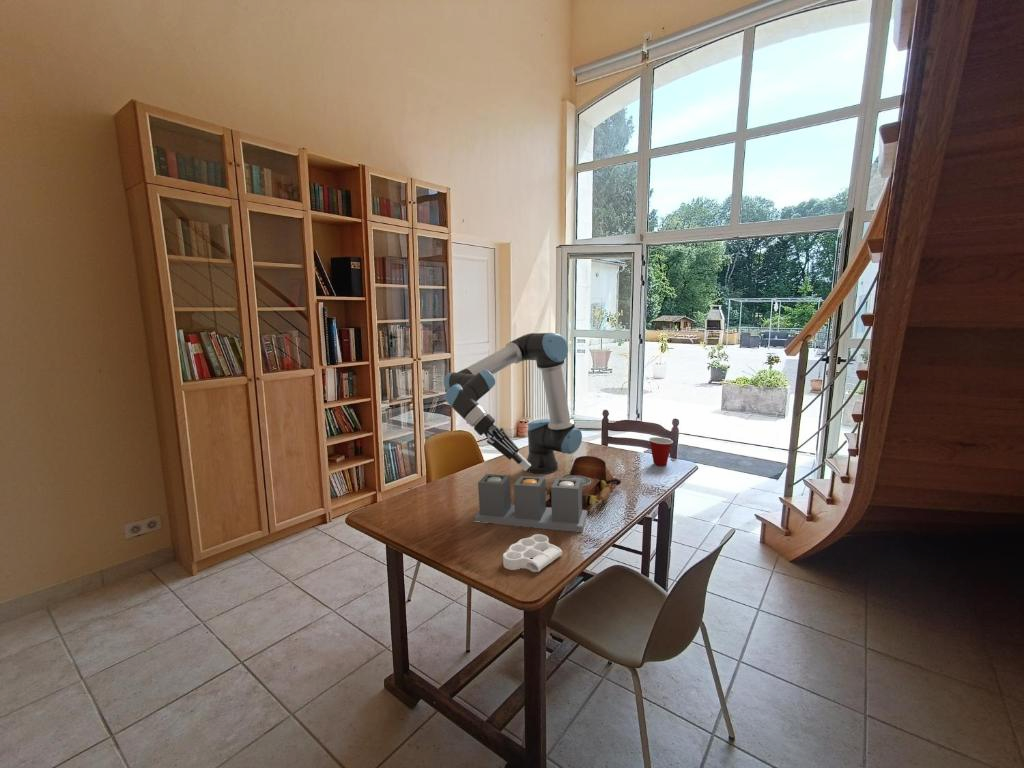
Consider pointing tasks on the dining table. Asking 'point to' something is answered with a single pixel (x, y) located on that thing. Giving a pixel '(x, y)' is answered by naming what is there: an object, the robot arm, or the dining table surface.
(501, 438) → the robot arm
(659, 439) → the plastic cup
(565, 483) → the cream button
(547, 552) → the white brass knuckles
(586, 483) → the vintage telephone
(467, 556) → the dining table surface
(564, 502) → the button stand
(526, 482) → the orange button
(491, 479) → the sage button
